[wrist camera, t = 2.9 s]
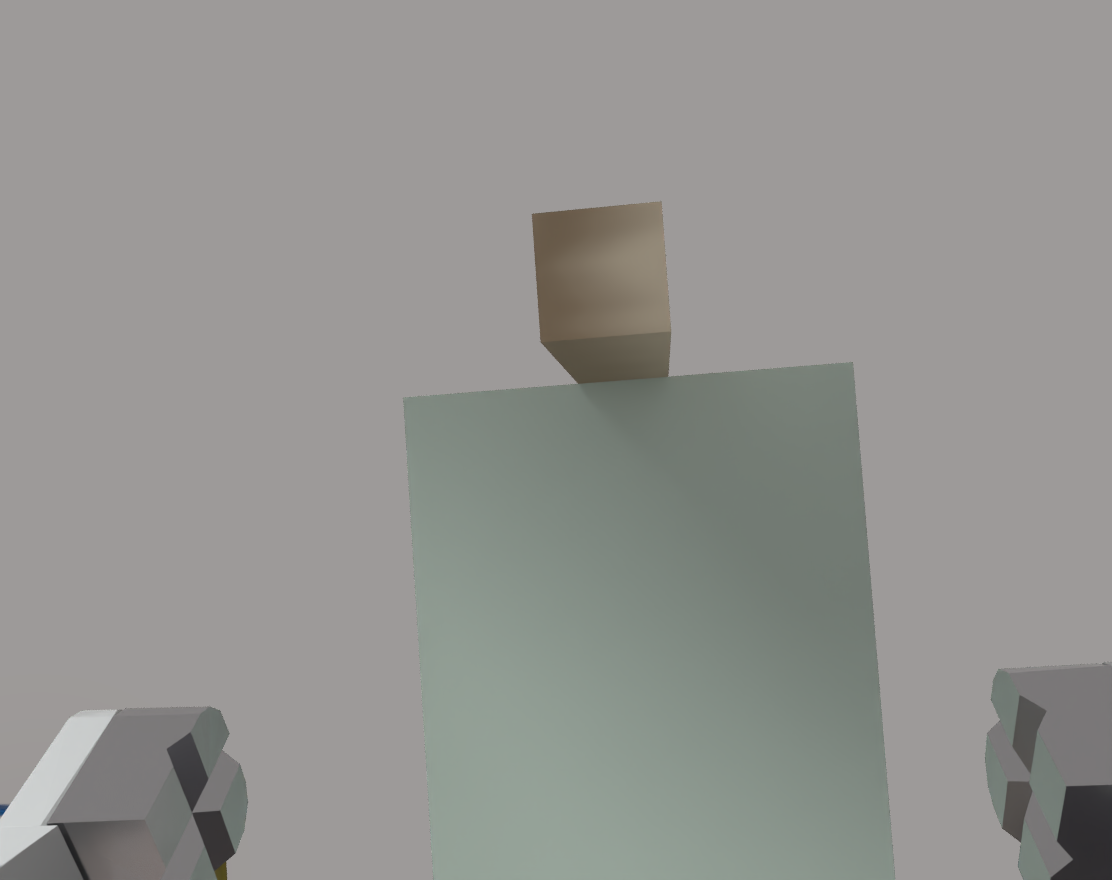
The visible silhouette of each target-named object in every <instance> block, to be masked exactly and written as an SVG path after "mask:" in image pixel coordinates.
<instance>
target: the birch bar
mask: <svg viewBox="0 0 1112 880" xmlns="http://www.w3.org/2000/svg"><path fill="white" fill-rule="evenodd" d="M532 222H533V236H534V251H535V265H536V280H537V295H538V308H539V323H540V339H541V343H542V344H543V345H544V346H545V347H546V348H547V350H548V351H549V352H550V353H551V354H552V355H553V356H554V357H555V359H556V360H557V361H558V362H559V363H560V364H561V365H562V366H563V367H564V369H565V370H566V371H567V372H568V373H569V374H570V375H571V376H572V377H573V378H574V380H575V381H576V382H577V383H578V384H583V383H595V382H608V381H621V380H633V379H646V378H659V377H668V373H669V372H668V371H669V357H670V342H671V323H670V310H669V309H670V308H669V296H668V282H667V268H666V255H665V241H664V228H663V214H662V202H650V203H640V204H629V205H619V206H609V207H599V208H588V209H578V210H567V211H558V212H546V213H536V214H532Z"/></svg>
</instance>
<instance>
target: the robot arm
mask: <svg viewBox="0 0 1112 880" xmlns="http://www.w3.org/2000/svg"><path fill="white" fill-rule="evenodd" d="M991 701H992V703H993V705H994V708H995V710H996V712H997V714H998V717H999V719H1000V721H999V722H998V723H997V724H996V725H995V726H994V727H993V728H992V729H991V730H990V731H989V732H988V733H987V740H986V753H985V763H986V771H987V781H988V788H989V791H990V795H991V799H992V802H993V806H994V809H995V811H996V814H997V816H998V819H999V822H1000V824H1001V826H1002V829H1004V830H1005V831H1006V832H1008V833H1009V834H1010V835H1012V836H1013V837H1014V838H1016V839H1017V840H1018V841H1020V842H1021V846H1020V854H1019V861H1018V868H1019V870H1020V873H1021V875H1022V877H1023V880H1112V662H1104V663H1102V664H1080V665H1062V666H1043V667H1026V668H1009V669H1008V668H1007V669H998V671H997V673H996V675H995V678H994V680H993V687H992V694H991ZM228 735H229V731H228V729H227V726H226V724H225V721H224V719H223V716H222V714H221V711H220V710H217V709H215V708H212V707H172V708H130V709H124V710H83V711H81V712H79V713H77V714H76V715H74V716H72V717H71V718H69V719H68V721H67V722H66V723H65V725H64V726H63V728H62V729H61V731H60V732H59V734H58V735H57V737H56V738H55V740H54V741H53V742H52V744H51V745H50V747H49V748H48V750H47V751H46V753H45V754H44V756H43V757H42V759H41V760H40V762H39V763H38V764H37V766H36V768H35V769H34V770H33V772H32V773H31V775H30V776H29V778H28V779H27V781H26V782H25V783H24V785H23V786H22V788H21V789H20V791H19V792H18V794H17V795H16V797H15V798H14V800H13V801H12V803H11V804H10V805H9V807H8V808H7V810H6V811H5V813H4V814H3V816H2V817H1V819H0V880H217V877H216V875H215V872H214V871H215V870H217V869H218V868H219V867H220V866H221V865H222V864H224V863H225V862H226V861H227V860H228V859H229V858H231V857H232V856H233V855H234V854H235V853H236V851H237V848H238V845H239V843H240V840H241V837H242V834H243V832H244V827H245V821H246V813H247V805H248V799H247V790H246V781H245V778H244V775H243V772H242V769H241V766H240V764H239V763H238V762H237V761H235V760H234V759H233V758H231V757H230V756H229V755H228V754H226V753H225V752H224V751H223V750H222V749H223V747H224V744H225V742H226V740H227V738H228Z"/></svg>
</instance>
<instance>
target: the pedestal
mask: <svg viewBox="0 0 1112 880" xmlns="http://www.w3.org/2000/svg"><path fill="white" fill-rule="evenodd" d="M403 402H404V418H405V434H406V450H407V464H408V465H407V466H408V481H409V497H410V514H411V529H412V544H413V545H412V546H413V562H414V577H415V594H416V610H417V625H418V641H419V658H420V673H421V689H422V704H423V721H424V737H425V753H426V768H427V785H428V800H429V817H430V831H431V832H430V833H431V849H432V864H433V880H895V870H894V859H893V845H892V833H891V822H890V810H889V797H888V784H887V772H886V761H885V748H884V736H883V724H882V712H881V699H880V687H879V674H878V662H877V650H876V638H875V625H874V613H873V601H872V589H871V576H870V564H869V552H868V540H867V528H866V516H865V503H864V491H863V479H862V468H861V467H862V466H861V454H860V442H859V430H858V418H857V405H856V394H855V381H854V370H853V362H849V363H836V364H823V365H811V366H798V367H786V368H773V369H761V370H748V371H735V372H722V373H709V374H698V375H685V376H671V377H659V378H646V379H633V380H621V381H608V382H595V383H583V384H570V385H557V386H545V387H532V388H520V389H506V390H495V391H481V392H468V393H457V394H456V393H455V394H444V395H430V396H417V397H405V398H403Z"/></svg>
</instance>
